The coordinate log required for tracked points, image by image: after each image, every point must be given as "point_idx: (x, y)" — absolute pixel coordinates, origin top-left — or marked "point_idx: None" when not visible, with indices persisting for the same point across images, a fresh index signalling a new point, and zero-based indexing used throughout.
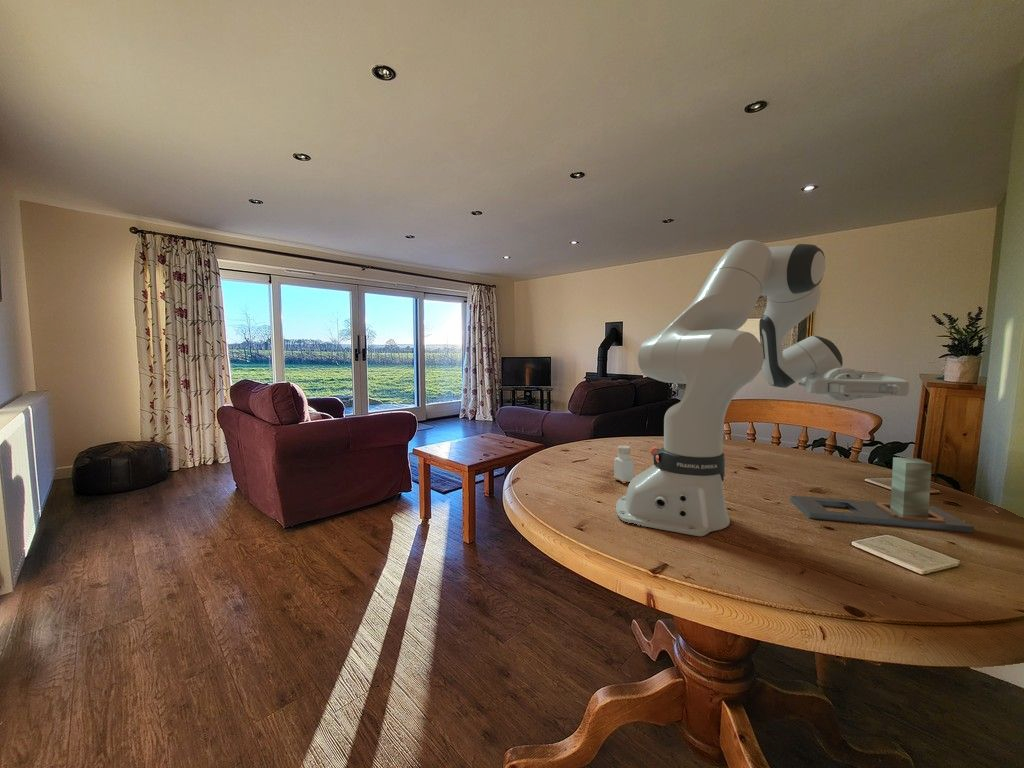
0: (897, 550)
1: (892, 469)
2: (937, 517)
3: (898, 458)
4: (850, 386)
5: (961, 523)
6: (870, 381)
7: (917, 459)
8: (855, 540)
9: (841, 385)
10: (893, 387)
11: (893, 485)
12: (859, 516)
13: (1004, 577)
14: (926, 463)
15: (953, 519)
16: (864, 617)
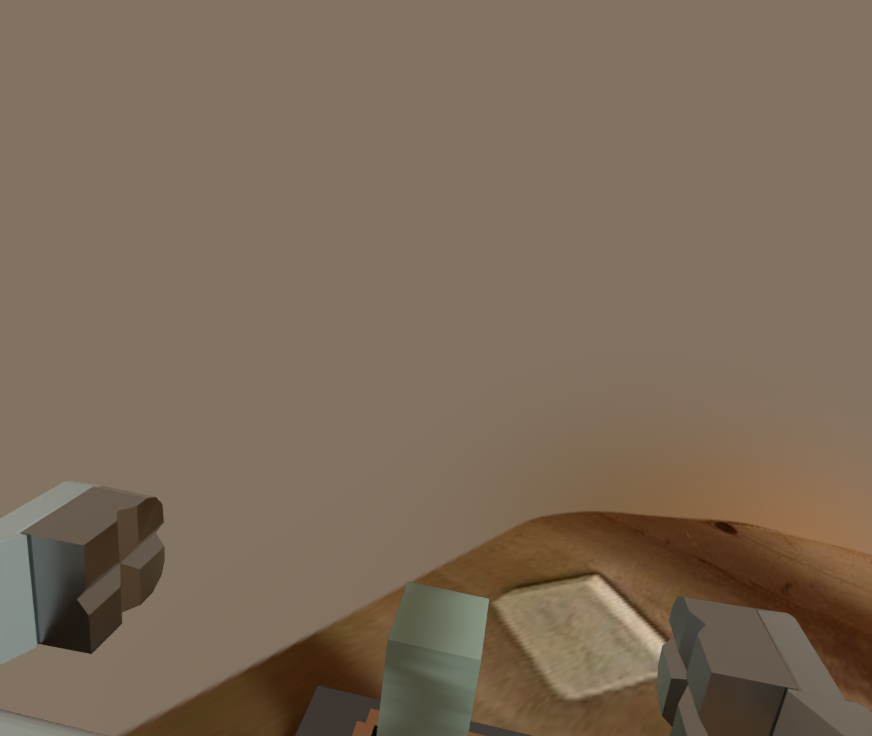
0: (590, 634)
1: (472, 708)
2: (370, 731)
3: (473, 642)
4: (679, 598)
5: (329, 704)
6: (32, 720)
7: (405, 625)
8: None
9: (816, 654)
10: (147, 496)
11: None
12: None
13: (466, 562)
14: (422, 585)
15: (319, 732)
16: (716, 521)
